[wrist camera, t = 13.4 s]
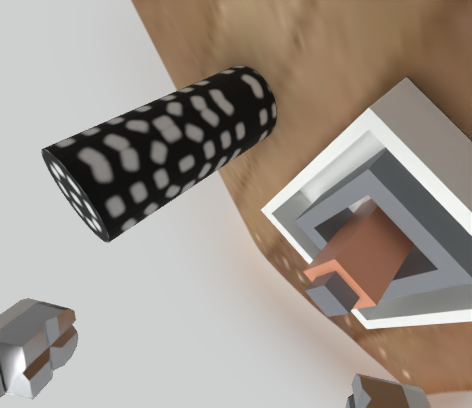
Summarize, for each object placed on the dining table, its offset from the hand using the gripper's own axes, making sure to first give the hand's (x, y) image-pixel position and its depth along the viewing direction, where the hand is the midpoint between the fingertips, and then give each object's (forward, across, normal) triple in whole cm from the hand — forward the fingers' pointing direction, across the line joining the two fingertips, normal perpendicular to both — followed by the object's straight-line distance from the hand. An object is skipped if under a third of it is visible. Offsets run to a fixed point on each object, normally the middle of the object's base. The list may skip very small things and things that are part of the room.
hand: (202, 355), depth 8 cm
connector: (+21, +11, -2) cm, 24 cm away
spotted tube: (+28, -4, +6) cm, 29 cm away
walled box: (+22, +12, -1) cm, 25 cm away
